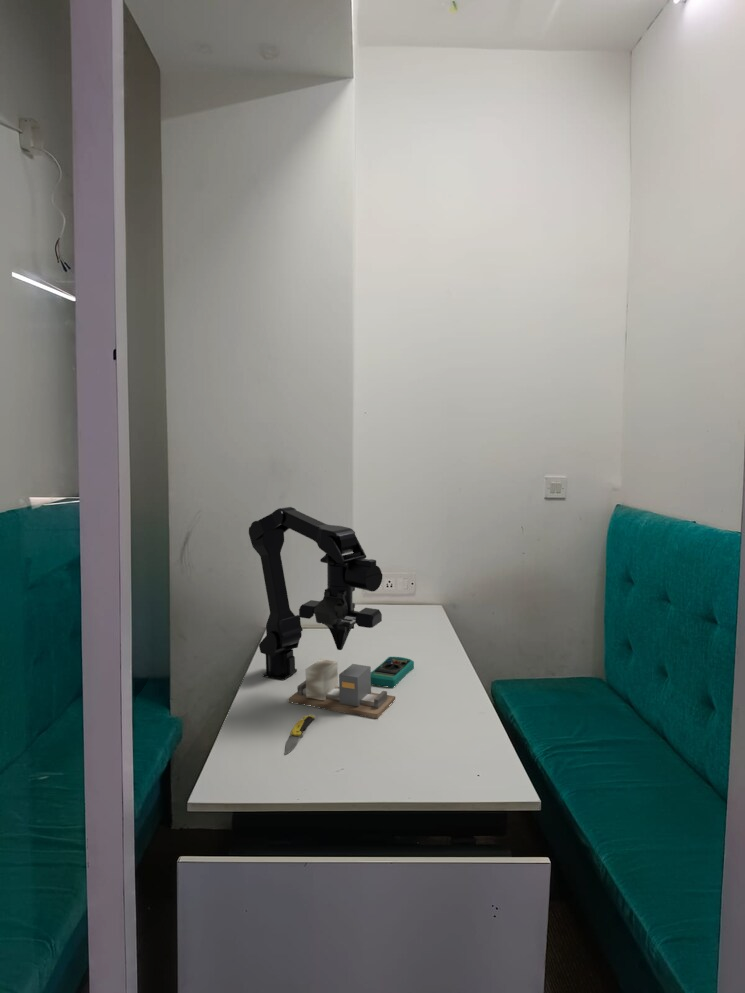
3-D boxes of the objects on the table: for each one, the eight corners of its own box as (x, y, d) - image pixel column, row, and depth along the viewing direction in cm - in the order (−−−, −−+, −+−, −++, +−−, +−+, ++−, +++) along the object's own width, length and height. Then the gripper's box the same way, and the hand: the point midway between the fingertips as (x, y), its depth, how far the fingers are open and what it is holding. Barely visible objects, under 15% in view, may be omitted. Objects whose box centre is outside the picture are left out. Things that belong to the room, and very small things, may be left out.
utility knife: (294, 752, 124) (279, 751, 124) (294, 758, 124) (279, 757, 124) (314, 714, 140) (301, 714, 140) (314, 720, 140) (301, 719, 140)
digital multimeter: (415, 668, 168) (415, 657, 168) (393, 690, 155) (393, 678, 155) (388, 665, 171) (388, 654, 171) (365, 685, 158) (365, 674, 158)
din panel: (288, 702, 148) (287, 669, 147) (310, 686, 157) (309, 654, 156) (377, 718, 139) (377, 683, 138) (395, 700, 148) (394, 667, 147)
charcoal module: (339, 703, 144) (338, 674, 143) (353, 691, 150) (352, 663, 150) (357, 706, 142) (357, 677, 141) (371, 694, 149) (370, 666, 148)
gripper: (285, 587, 145) (286, 654, 147) (361, 597, 137) (361, 668, 139) (310, 576, 155) (311, 639, 157) (382, 584, 147) (382, 651, 149)
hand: (339, 649), depth 150 cm, fingers closed
